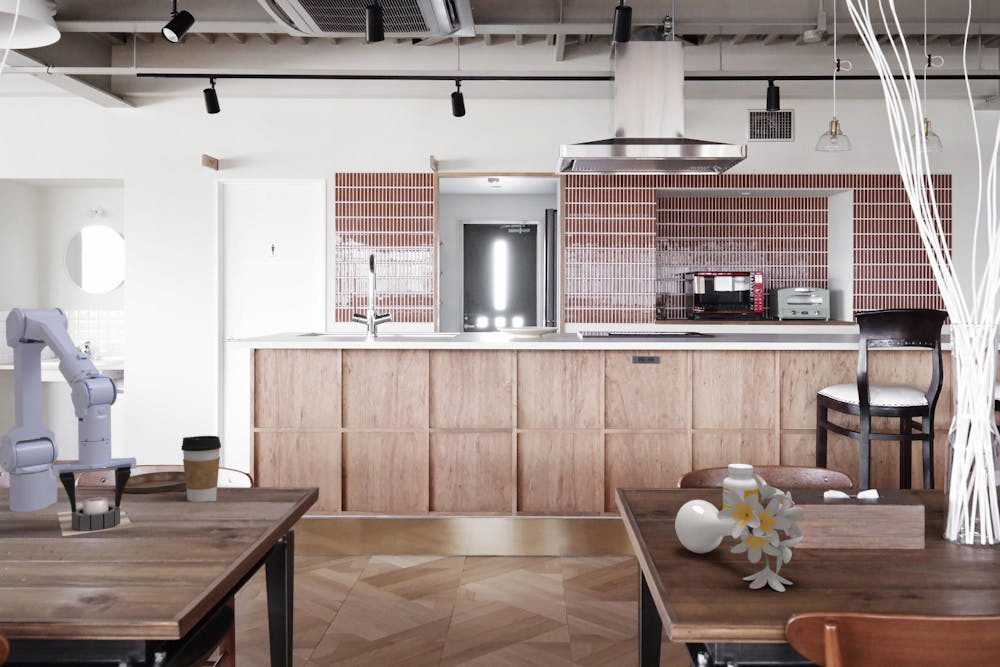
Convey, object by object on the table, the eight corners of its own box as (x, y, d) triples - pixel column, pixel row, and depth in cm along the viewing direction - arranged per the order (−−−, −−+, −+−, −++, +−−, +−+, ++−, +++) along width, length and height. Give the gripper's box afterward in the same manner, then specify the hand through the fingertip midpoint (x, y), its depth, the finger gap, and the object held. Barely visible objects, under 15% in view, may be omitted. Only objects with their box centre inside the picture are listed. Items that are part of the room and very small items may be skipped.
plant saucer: (107, 501, 179) (107, 488, 179) (124, 485, 196) (124, 472, 196) (190, 497, 183) (190, 484, 183) (199, 481, 200) (199, 469, 200)
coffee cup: (173, 505, 174) (172, 438, 174) (201, 497, 182) (200, 432, 182) (203, 508, 171) (202, 440, 171) (230, 500, 179) (229, 434, 179)
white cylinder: (90, 522, 157) (90, 497, 157) (112, 522, 157) (112, 497, 156) (78, 528, 152) (78, 502, 152) (101, 528, 152) (101, 502, 152)
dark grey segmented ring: (86, 519, 159) (85, 504, 159) (127, 519, 159) (127, 504, 159) (62, 531, 150) (62, 515, 150) (106, 531, 150) (106, 515, 150)
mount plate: (57, 517, 164) (57, 512, 164) (120, 509, 170) (120, 505, 170) (62, 541, 147) (62, 535, 147) (133, 531, 153) (133, 526, 153)
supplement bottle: (760, 528, 155) (760, 464, 155) (756, 537, 149) (756, 470, 149) (725, 524, 158) (725, 461, 158) (720, 533, 152) (720, 467, 152)
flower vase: (677, 591, 139) (771, 602, 117) (647, 489, 142) (733, 481, 119) (735, 568, 144) (835, 575, 122) (704, 470, 147) (797, 459, 124)
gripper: (53, 445, 147) (54, 518, 147) (138, 439, 154) (139, 507, 155) (51, 440, 153) (52, 510, 153) (133, 434, 160) (134, 500, 161)
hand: (95, 508), depth 154 cm, fingers open, 7 cm apart
